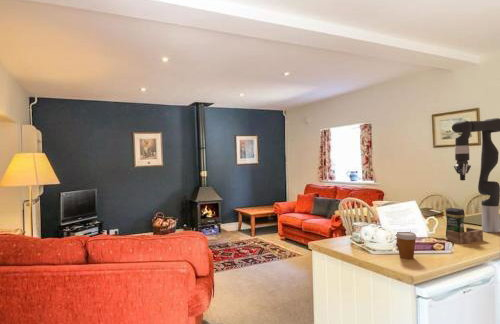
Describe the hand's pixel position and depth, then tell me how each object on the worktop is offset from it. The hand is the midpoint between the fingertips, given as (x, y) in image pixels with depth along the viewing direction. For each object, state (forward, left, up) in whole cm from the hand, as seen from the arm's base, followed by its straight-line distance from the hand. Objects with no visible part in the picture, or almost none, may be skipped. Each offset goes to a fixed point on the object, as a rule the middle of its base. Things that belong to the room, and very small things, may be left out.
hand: (462, 180), depth 204 cm
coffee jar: (+12, +3, -35) cm, 37 cm away
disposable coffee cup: (+68, +18, -35) cm, 79 cm away
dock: (+11, +8, -35) cm, 38 cm away
